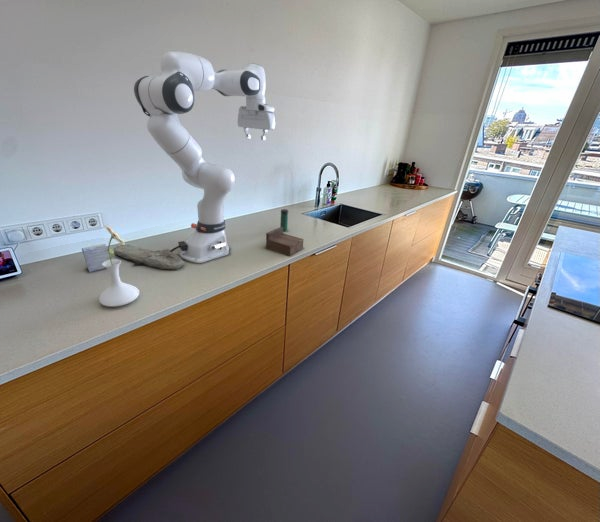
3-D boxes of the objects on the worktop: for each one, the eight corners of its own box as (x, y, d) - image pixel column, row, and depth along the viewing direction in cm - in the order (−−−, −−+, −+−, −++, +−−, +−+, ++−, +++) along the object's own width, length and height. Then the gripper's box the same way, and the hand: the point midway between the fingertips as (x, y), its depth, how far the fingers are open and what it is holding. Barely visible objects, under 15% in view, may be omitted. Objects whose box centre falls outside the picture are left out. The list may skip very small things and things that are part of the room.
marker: (284, 232, 163) (285, 211, 157) (278, 230, 164) (279, 210, 159) (288, 230, 166) (289, 210, 161) (282, 228, 168) (283, 208, 162)
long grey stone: (128, 250, 131) (108, 259, 123) (125, 239, 129) (104, 248, 120) (190, 262, 120) (173, 274, 112) (188, 251, 118) (170, 262, 109)
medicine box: (110, 262, 117) (105, 243, 113) (113, 266, 114) (108, 246, 110) (87, 268, 112) (81, 247, 108) (89, 272, 109) (83, 251, 105)
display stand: (289, 256, 134) (290, 240, 131) (265, 248, 141) (266, 233, 137) (302, 248, 144) (304, 233, 140) (280, 241, 150) (280, 226, 146)
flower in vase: (136, 308, 91) (120, 234, 81) (95, 312, 88) (72, 236, 77) (144, 287, 103) (130, 220, 92) (107, 290, 99) (89, 221, 88)
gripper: (234, 105, 135) (234, 137, 141) (268, 107, 125) (268, 141, 131) (243, 106, 140) (243, 137, 146) (277, 108, 130) (276, 141, 136)
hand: (255, 139), depth 138 cm, fingers open, 8 cm apart
